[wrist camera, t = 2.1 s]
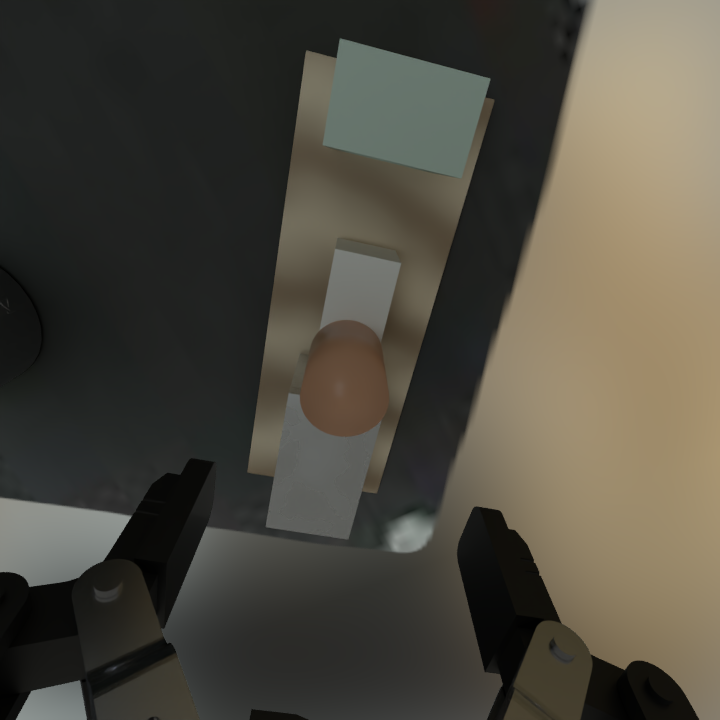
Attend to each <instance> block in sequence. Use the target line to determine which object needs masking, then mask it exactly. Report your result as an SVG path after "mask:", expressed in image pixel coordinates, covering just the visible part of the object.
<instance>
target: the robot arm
mask: <svg viewBox="0 0 720 720" xmlns="http://www.w3.org/2000/svg"><path fill="white" fill-rule="evenodd" d="M41 342H42V337H41V326H40V322H39V319H38V315H37V312H36V310H35V308H34V306H33V304H32V302H31V300H30V299H29V297H28V296H27V295H26V293H25V292H24V291H23V289H22V288H21V287H20V285H19V284H18V283H17V282H16V281H15V280H13V279H12V278H11V277H10V276H9V275H8V274H7V273H6V272H5V271H3V270H2V269H1V268H0V387H1V386H3V385H5V384H6V383H8V382H9V381H11V380H12V379H14V378H15V377H17V376H19V375H20V374H22V373H23V372H25V371H26V370H27V369H28V368H29V367H30V366H31V365H32V364H33V363H34V361H35V359H36V358H37V356H38V354H39V351H40V346H41ZM215 477H216V462H211V461H205V460H199V459H193V458H191V459H189V461H188V462H187V464H186V466H185V468H184V470H183V471H182V473H181V475H178V474H172V473H167V474H165V475H164V476H162V477H161V478H160V479H158V480H157V481H156V482H154V483H153V484H152V485H151V487H150V488H149V490H148V492H147V493H146V495H145V496H144V498H143V501H141V503H140V504H139V506H138V508H137V509H136V512H135V513H134V514H133V516H132V517H131V519H130V520H129V522H128V524H127V525H126V527H125V528H124V530H123V532H122V533H121V535H120V536H119V538H118V539H117V541H116V543H115V544H114V546H113V548H112V549H111V551H110V552H109V554H108V555H107V557H106V558H105V560H104V561H103V562H100V563H98V564H96V565H94V566H92V567H90V568H89V569H88V570H86V571H85V572H84V573H83V574H82V575H81V576H80V577H79V578H77V579H74V580H71V581H67V582H61V583H55V584H47V585H41V586H33V587H29V586H28V583H27V581H26V580H25V578H24V577H22V576H20V575H18V574H16V573H10V572H0V720H16V718H17V716H18V714H19V713H20V711H21V709H22V707H23V705H24V703H25V701H26V700H27V698H28V696H29V694H30V692H31V691H33V690H37V689H42V688H46V687H51V686H55V685H60V684H65V683H69V682H74V681H78V680H80V682H81V688H82V694H83V699H84V705H85V711H86V716H87V720H200V719H199V716H198V713H197V710H196V707H195V704H194V701H193V698H192V696H191V693H190V690H189V687H188V684H187V681H186V679H185V676H184V673H183V670H182V667H181V664H180V662H179V659H178V656H177V653H176V651H175V649H174V647H173V645H172V644H171V643H169V644H167V643H166V641H165V639H164V636H163V633H162V630H161V628H165V625H166V622H167V620H168V618H169V615H170V613H171V611H172V608H173V606H174V603H175V601H176V598H177V596H178V594H179V591H180V589H181V586H182V584H183V582H184V579H185V577H186V574H187V572H188V569H189V567H190V564H191V562H192V560H193V557H194V555H195V552H196V550H197V547H198V545H199V543H200V540H201V538H202V535H203V533H204V530H205V528H206V526H207V523H208V520H209V517H210V514H211V510H212V505H213V498H214V488H215ZM457 557H458V564H459V568H460V572H461V576H462V581H463V584H464V589H465V592H466V597H467V600H468V605H469V609H470V613H471V617H472V621H473V625H474V630H475V633H476V637H477V642H478V646H479V650H480V654H481V658H482V662H483V666H484V670H485V672H489V673H497V674H500V675H501V679H502V683H503V685H502V687H501V688H500V690H499V692H498V694H497V697H496V699H495V701H494V704H493V706H492V708H491V711H490V713H489V716H488V718H487V720H699V718H698V717H697V716H696V713H695V711H694V709H693V708H692V706H691V704H690V702H689V701H688V699H687V697H686V695H685V694H684V692H683V691H682V689H681V688H680V687H679V686H678V684H677V683H676V682H675V681H674V680H673V679H672V678H671V677H670V676H669V675H668V674H666V673H665V672H664V671H663V670H661V669H660V668H658V667H656V666H655V665H653V664H650V663H648V662H644V661H634V662H631V663H630V664H629V665H628V667H627V668H626V669H625V670H623V669H621V668H619V667H617V666H614V665H612V664H610V663H607V662H605V661H603V660H601V659H599V658H597V657H595V656H593V655H591V654H590V652H589V650H588V648H587V646H586V645H585V643H584V642H583V641H582V639H581V638H580V637H579V636H578V635H577V634H576V633H575V632H574V631H572V630H571V629H570V628H568V627H567V626H565V625H563V624H562V623H561V621H560V619H559V617H558V614H557V612H556V610H555V607H554V605H553V603H552V601H551V598H550V596H549V594H548V592H547V589H546V587H545V584H544V582H543V580H542V578H541V576H539V571H538V568H537V566H536V564H535V563H534V559H533V557H532V555H531V552H530V550H529V548H528V545H527V544H526V543H525V541H524V540H523V539H522V538H521V537H520V536H519V534H518V533H517V532H516V531H515V530H510V529H508V527H507V524H506V522H505V520H504V517H503V515H502V513H501V511H499V510H494V509H488V508H482V507H474V508H473V510H472V512H471V514H470V517H469V519H468V521H467V524H466V526H465V529H464V531H463V533H462V536H461V538H460V541H459V544H458V550H457ZM250 720H308V719H305V718H303V717H301V716H299V715H296V714H288V713H279V712H270V711H262V710H253V709H252V711H251V715H250Z"/></svg>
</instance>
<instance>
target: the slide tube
mask: <svg viewBox="0 0 720 720" xmlns="http://www.w3.org/2000/svg"><path fill="white" fill-rule="evenodd" d="M400 266H401V261H400V259H399V257H398V255H397V253H396V250H391V249H387V248H382V247H378V246H373V245H369V244H364V243H360V242H355V241H351V240H346V239H342V238H337V242H336V247H335V252H334V257H333V262H332V268H331V273H330V278H329V283H328V288H327V294H326V299H325V304H324V309H323V314H322V320H321V325H320V330H319V332H318V333H317V334H316V335H315V337H314V339H313V341H312V344H311V348H310V352H309V356H308V361H307V365H306V369H305V374H304V378H303V382H302V387H301V391H300V404H301V408H302V411H303V413H304V415H305V416H306V418H307V419H308V421H309V422H310V423H311V424H312V425H313V426H315V427H316V428H317V429H319V430H321V431H323V432H325V433H327V434H330V435H334V436H340V437H349V436H356V435H360V434H363V433H365V432H367V431H369V430H371V429H372V428H374V427H375V426H376V425H377V424H378V423H379V422H380V421H381V420H382V418H383V417H384V415H385V413H386V411H387V409H388V405H389V391H388V384H387V377H386V371H385V364H384V357H383V350H382V345H381V340H382V336H383V332H384V328H385V325H386V321H387V317H388V313H389V309H390V305H391V301H392V297H393V293H394V290H395V286H396V282H397V278H398V274H399V270H400Z"/></svg>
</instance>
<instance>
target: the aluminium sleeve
mask: <svg viewBox="0 0 720 720" xmlns="http://www.w3.org/2000/svg"><path fill="white" fill-rule="evenodd" d="M308 356H309V355H306V354H301V353H300V354H299V358H298V361H297V365H296V369H295V372H294V376H293V379H292V383H291V386H290V390H289V394H288V400H287V406H286V411H285V417H284V423H283V429H282V435H281V441H280V446H279V452H278V458H277V464H276V470H275V475H274V481H273V487H272V493H271V499H270V505H269V510H268V516H267V522H266V527H269V528H275V529H282V530H288V531H295V532H302V533H308V534H315V535H322V536H328V537H335V538H341V539H349V535H350V531H351V528H352V524H353V521H354V517H355V514H356V510H357V506H358V503H359V499H360V496H361V492H362V489H363V485H364V481H365V478H366V474H367V471H368V467H369V464H370V460H371V456H372V453H373V449H374V446H375V442H376V439H377V435H378V431H379V428H380V424H381V421H382V420H381V421H380V422H379V423H378V424H377V425H376V426H375V427H374V428H372V429H371V430H369V431H367V432H365V433H363V434H360V435H356V436H349V437H340V436H334V435H330V434H327V433H325V432H323V431H321V430H319V429H317V428H316V427H315V426H313V425H312V424H311V423H310V422H309V421H308V419H307V418H306V416H305V415H304V413H303V411H302V408H301V404H300V391H301V387H302V382H303V378H304V374H305V369H306V365H307V361H308Z"/></svg>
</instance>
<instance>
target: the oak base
mask: <svg viewBox="0 0 720 720" xmlns="http://www.w3.org/2000/svg"><path fill="white" fill-rule="evenodd" d="M336 60H337V58H333V57H329V56H325V55H322V54H318V53H314V52H310V51H306V56H305V63H304V70H303V77H302V84H301V91H300V99H299V106H298V113H297V120H296V127H295V135H294V142H293V149H292V156H291V163H290V170H289V178H288V185H287V192H286V199H285V206H284V214H283V221H282V228H281V235H280V242H279V249H278V257H277V264H276V271H275V278H274V285H273V293H272V300H271V307H270V314H269V321H268V328H267V336H266V343H265V350H264V357H263V364H262V372H261V379H260V386H259V393H258V400H257V407H256V415H255V422H254V429H253V436H252V443H251V451H250V458H249V465H248V473H254V474H260V475H266V476H272V477H274V475H275V470H276V464H277V458H278V452H279V446H280V441H281V435H282V429H283V423H284V417H285V411H286V406H287V400H288V394H289V390H290V386H291V383H292V379H293V376H294V372H295V369H296V365H297V361H298V358H299V354H300V353H301V354H306V355H309V352H310V348H311V344H312V341H313V339H314V337H315V335H316V334H317V333H318V332H319V330H320V325H321V320H322V314H323V309H324V304H325V299H326V294H327V288H328V283H329V278H330V273H331V268H332V262H333V257H334V252H335V247H336V242H337V238H342V239H346V240H351V241H355V242H360V243H364V244H369V245H373V246H378V247H382V248H387V249H391V250H396V253H397V255H398V257H399V259H400V261H401V266H400V270H399V274H398V278H397V282H396V286H395V290H394V293H393V297H392V301H391V305H390V309H389V313H388V317H387V321H386V325H385V328H384V332H383V336H382V340H381V345H382V350H383V357H384V364H385V371H386V377H387V384H388V391H389V405H388V409H387V411H386V413H385V415H384V417H383V418H382V421H381V424H380V428H379V431H378V435H377V439H376V442H375V446H374V449H373V453H372V456H371V460H370V464H369V467H368V471H367V474H366V478H365V481H364V485H363V489H362V491H364V492H370V493H377V491H378V488H379V485H380V481H381V478H382V475H383V471H384V468H385V465H386V461H387V458H388V455H389V451H390V448H391V445H392V441H393V438H394V435H395V431H396V428H397V425H398V421H399V418H400V414H401V411H402V408H403V404H404V401H405V398H406V394H407V391H408V388H409V384H410V381H411V378H412V374H413V371H414V368H415V364H416V361H417V358H418V354H419V351H420V348H421V344H422V341H423V338H424V334H425V331H426V328H427V324H428V321H429V318H430V314H431V311H432V308H433V304H434V301H435V298H436V294H437V291H438V288H439V284H440V281H441V277H442V274H443V271H444V267H445V264H446V261H447V257H448V254H449V251H450V247H451V244H452V241H453V237H454V234H455V231H456V227H457V224H458V221H459V217H460V214H461V211H462V207H463V204H464V201H465V197H466V194H467V191H468V187H469V184H470V181H471V177H472V174H473V171H474V167H475V164H476V161H477V157H478V154H479V150H480V147H481V144H482V140H483V137H484V134H485V130H486V127H487V124H488V120H489V117H490V114H491V110H492V107H493V104H494V100H493V99H489V98H485V99H484V103H483V106H482V110H481V113H480V117H479V120H478V123H477V127H476V130H475V134H474V137H473V141H472V144H471V148H470V151H469V154H468V158H467V161H466V165H465V168H464V172H463V175H462V178H455V177H450V176H444V175H439V174H434V173H430V172H426V171H422V170H417V169H413V168H409V167H405V166H401V165H397V164H393V163H388V162H384V161H380V160H376V159H372V158H368V157H364V156H359V155H355V154H351V153H347V152H343V151H339V150H335V149H330V148H328V147H326V146H323V139H324V133H325V127H326V121H327V115H328V109H329V103H330V96H331V90H332V84H333V78H334V72H335V66H336Z"/></svg>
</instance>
